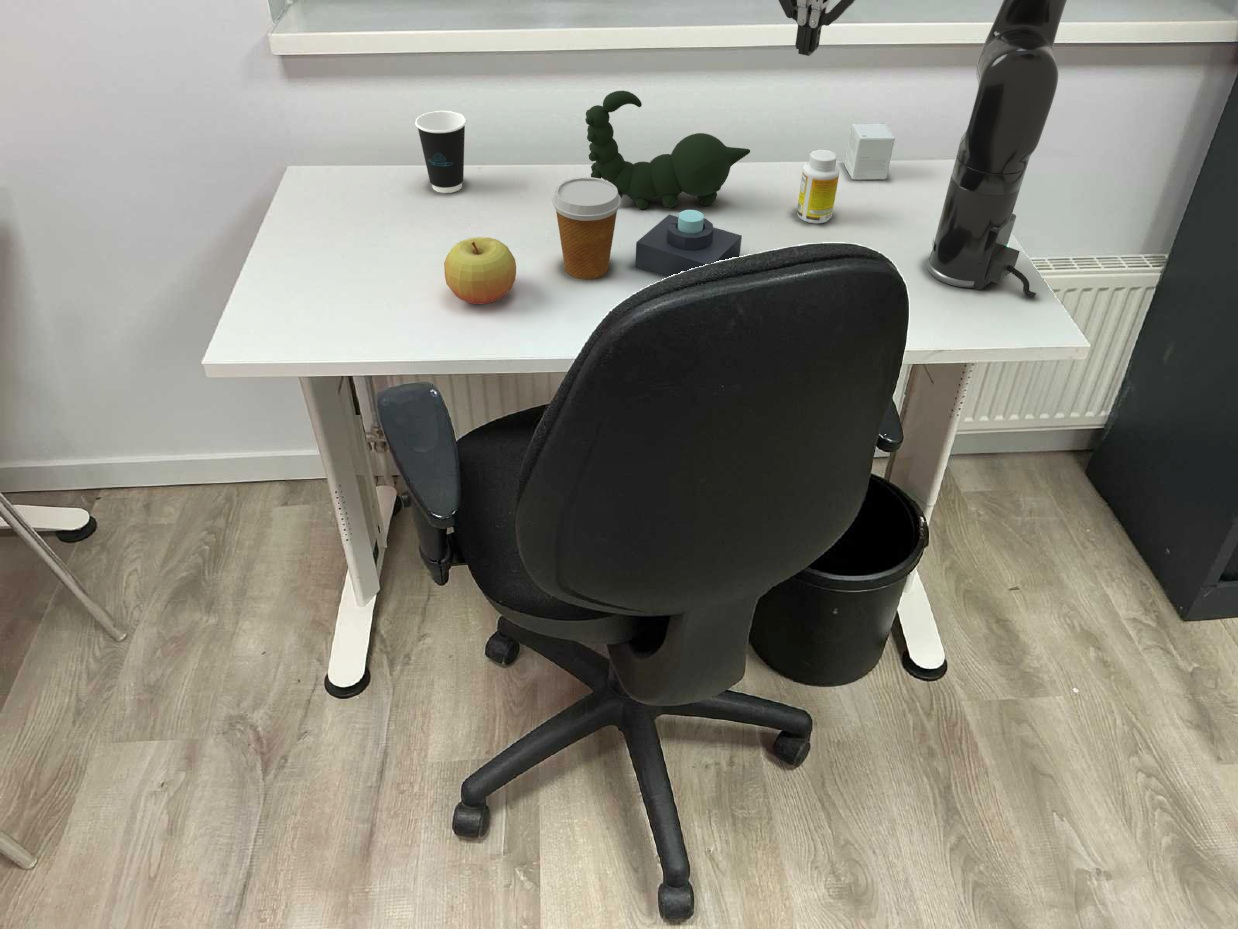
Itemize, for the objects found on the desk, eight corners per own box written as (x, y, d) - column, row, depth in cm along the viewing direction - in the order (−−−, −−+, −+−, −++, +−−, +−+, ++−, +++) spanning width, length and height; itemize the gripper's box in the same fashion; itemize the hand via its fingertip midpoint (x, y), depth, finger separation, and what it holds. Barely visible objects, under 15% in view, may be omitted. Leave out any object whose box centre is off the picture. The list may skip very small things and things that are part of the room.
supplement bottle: (838, 218, 157) (850, 156, 150) (814, 228, 154) (825, 165, 147) (812, 204, 160) (822, 143, 153) (788, 214, 157) (797, 153, 150)
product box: (887, 180, 167) (896, 138, 162) (851, 180, 167) (859, 138, 162) (878, 164, 172) (886, 122, 167) (843, 164, 171) (851, 122, 167)
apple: (448, 276, 141) (442, 225, 136) (516, 274, 142) (514, 223, 137) (445, 315, 134) (439, 262, 128) (518, 312, 135) (515, 260, 129)
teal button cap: (707, 226, 142) (708, 213, 141) (695, 237, 140) (696, 223, 138) (684, 220, 143) (685, 207, 142) (673, 230, 141) (674, 217, 140)
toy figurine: (593, 224, 157) (752, 214, 156) (582, 106, 144) (754, 94, 143) (594, 196, 164) (746, 186, 163) (584, 81, 151) (748, 70, 150)
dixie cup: (432, 201, 158) (425, 134, 151) (415, 180, 163) (407, 115, 156) (479, 191, 161) (474, 125, 154) (461, 171, 166) (455, 106, 159)
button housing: (739, 259, 146) (743, 222, 142) (709, 290, 140) (712, 252, 136) (667, 238, 151) (669, 201, 147) (635, 266, 144) (636, 229, 140)
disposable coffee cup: (561, 289, 139) (560, 210, 131) (547, 255, 146) (545, 179, 138) (627, 280, 141) (629, 203, 133) (609, 248, 148) (611, 172, 140)
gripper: (765, -91, 123) (750, 51, 135) (866, -75, 119) (842, 71, 130) (789, -103, 128) (772, 36, 140) (887, -88, 123) (861, 54, 135)
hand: (806, 53), depth 135 cm, fingers closed
